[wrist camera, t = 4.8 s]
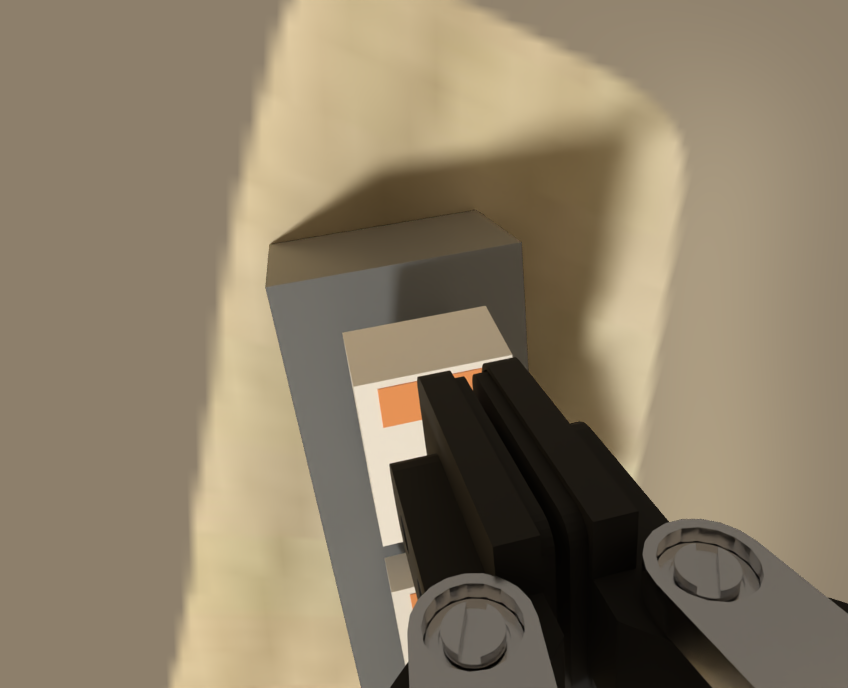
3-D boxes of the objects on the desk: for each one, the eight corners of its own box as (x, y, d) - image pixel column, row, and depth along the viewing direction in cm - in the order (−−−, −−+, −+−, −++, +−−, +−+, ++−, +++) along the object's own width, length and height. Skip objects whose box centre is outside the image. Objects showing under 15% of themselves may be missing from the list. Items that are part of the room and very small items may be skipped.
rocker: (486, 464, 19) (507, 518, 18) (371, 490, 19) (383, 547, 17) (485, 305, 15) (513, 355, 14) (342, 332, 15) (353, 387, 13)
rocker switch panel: (514, 639, 30) (558, 746, 25) (368, 677, 29) (385, 797, 24) (480, 209, 21) (537, 248, 16) (269, 244, 20) (264, 297, 15)
